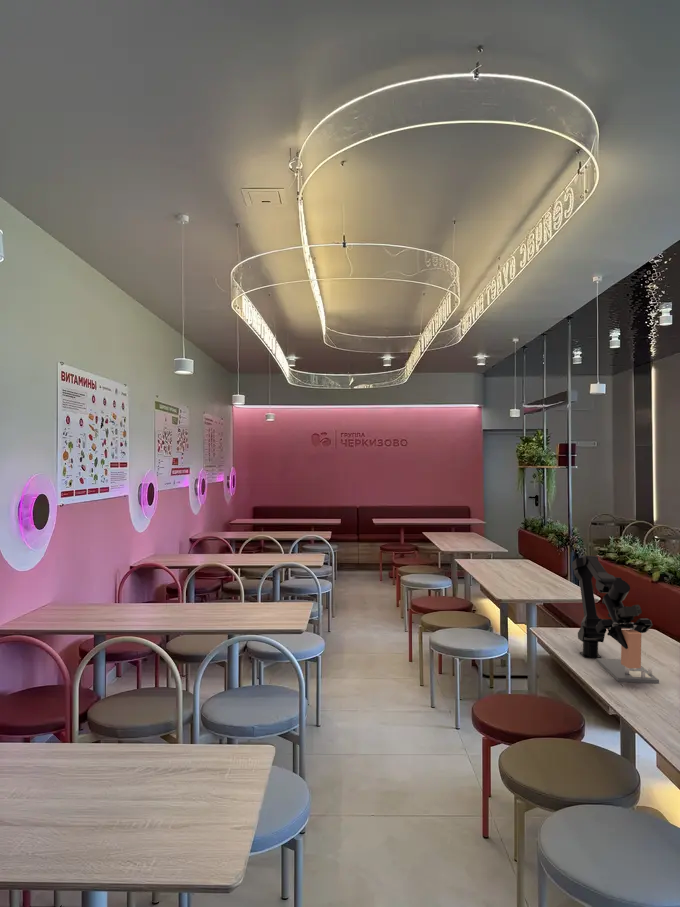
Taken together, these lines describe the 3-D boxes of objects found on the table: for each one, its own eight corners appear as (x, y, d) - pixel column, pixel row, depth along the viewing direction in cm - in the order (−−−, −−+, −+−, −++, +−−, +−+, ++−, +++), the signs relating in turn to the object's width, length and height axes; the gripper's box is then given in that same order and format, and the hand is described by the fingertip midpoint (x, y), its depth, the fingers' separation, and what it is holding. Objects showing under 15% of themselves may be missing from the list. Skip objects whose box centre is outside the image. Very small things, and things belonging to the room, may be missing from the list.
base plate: (596, 661, 235) (596, 651, 235) (633, 662, 234) (633, 653, 234) (617, 681, 213) (618, 670, 213) (659, 683, 212) (659, 672, 212)
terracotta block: (620, 663, 212) (621, 629, 212) (632, 663, 213) (633, 629, 213) (628, 668, 208) (629, 633, 208) (640, 668, 208) (641, 633, 208)
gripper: (600, 596, 213) (618, 637, 202) (649, 596, 215) (669, 636, 204) (588, 612, 221) (604, 653, 210) (636, 612, 223) (654, 652, 212)
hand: (633, 648), depth 209 cm, fingers closed on terracotta block, 4 cm apart
